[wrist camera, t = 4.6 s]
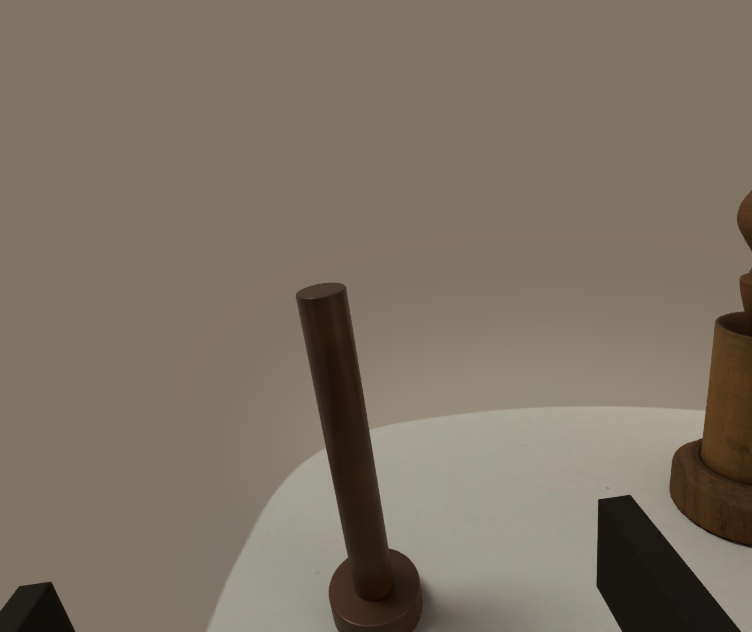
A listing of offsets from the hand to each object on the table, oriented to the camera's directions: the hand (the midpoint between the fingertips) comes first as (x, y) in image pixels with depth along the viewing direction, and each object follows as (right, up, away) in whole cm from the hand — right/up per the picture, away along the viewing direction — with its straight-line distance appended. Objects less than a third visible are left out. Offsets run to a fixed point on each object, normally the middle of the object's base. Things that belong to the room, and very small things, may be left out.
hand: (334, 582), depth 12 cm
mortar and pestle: (+22, -4, +16) cm, 27 cm away
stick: (+1, -8, +13) cm, 15 cm away
